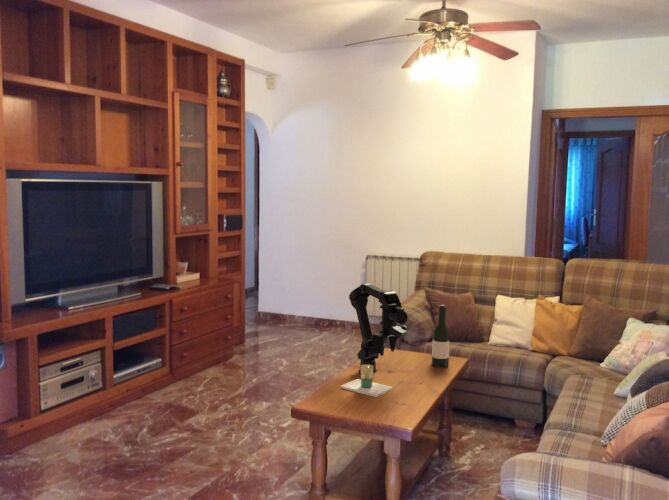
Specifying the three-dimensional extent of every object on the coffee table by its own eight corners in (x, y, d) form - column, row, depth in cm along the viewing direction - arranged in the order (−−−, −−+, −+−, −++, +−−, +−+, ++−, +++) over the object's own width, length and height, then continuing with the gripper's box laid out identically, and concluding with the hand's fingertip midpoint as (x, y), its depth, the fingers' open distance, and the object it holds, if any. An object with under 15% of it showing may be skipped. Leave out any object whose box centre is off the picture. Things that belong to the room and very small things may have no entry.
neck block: (340, 388, 267) (341, 376, 267) (357, 380, 278) (357, 369, 277) (376, 397, 257) (376, 385, 256) (392, 389, 267) (392, 378, 267)
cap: (371, 375, 270) (372, 364, 269) (374, 379, 264) (374, 368, 264) (359, 375, 269) (359, 364, 268) (361, 379, 264) (362, 368, 263)
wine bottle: (449, 363, 307) (452, 304, 304) (447, 368, 300) (449, 307, 296) (433, 361, 310) (435, 302, 307) (430, 366, 302) (432, 305, 299)
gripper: (393, 326, 263) (392, 361, 265) (414, 318, 278) (413, 352, 280) (371, 322, 270) (370, 356, 272) (393, 315, 285) (391, 348, 287)
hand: (387, 353), depth 277 cm, fingers open, 9 cm apart
